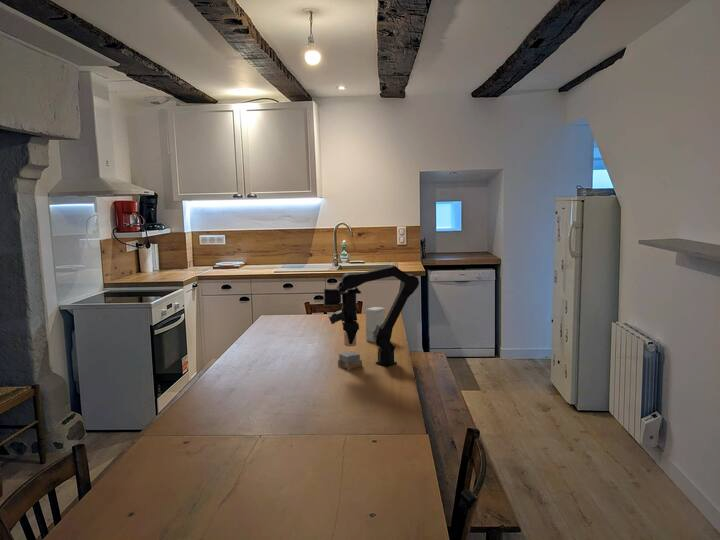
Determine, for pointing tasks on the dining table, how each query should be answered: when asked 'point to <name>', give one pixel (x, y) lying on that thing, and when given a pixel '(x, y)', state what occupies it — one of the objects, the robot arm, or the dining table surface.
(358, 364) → the walnut block
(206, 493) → the dining table surface
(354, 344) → the terracotta cylinder
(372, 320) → the skincare box
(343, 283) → the robot arm
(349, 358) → the grey block
